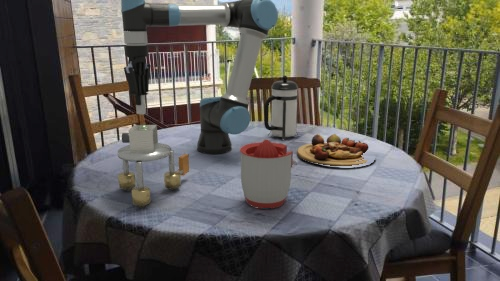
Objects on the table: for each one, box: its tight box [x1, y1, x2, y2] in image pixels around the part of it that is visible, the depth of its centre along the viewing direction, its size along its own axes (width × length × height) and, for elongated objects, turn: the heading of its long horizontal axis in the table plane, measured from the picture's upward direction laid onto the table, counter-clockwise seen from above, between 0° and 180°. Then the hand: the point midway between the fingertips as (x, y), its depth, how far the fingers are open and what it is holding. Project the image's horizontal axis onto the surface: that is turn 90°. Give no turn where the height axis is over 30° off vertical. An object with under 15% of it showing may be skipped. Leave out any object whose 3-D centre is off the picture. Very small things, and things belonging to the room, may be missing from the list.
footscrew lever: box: [163, 149, 190, 190], centre depth 134 cm, size 13×5×13 cm, turn 162°
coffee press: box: [263, 75, 299, 140], centre depth 192 cm, size 17×16×30 cm
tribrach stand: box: [117, 124, 172, 209], centre depth 124 cm, size 18×19×23 cm
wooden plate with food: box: [296, 133, 369, 166], centre depth 167 cm, size 32×32×8 cm
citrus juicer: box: [239, 139, 298, 209], centre depth 121 cm, size 16×17×20 cm
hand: (141, 113), depth 141 cm, fingers closed
